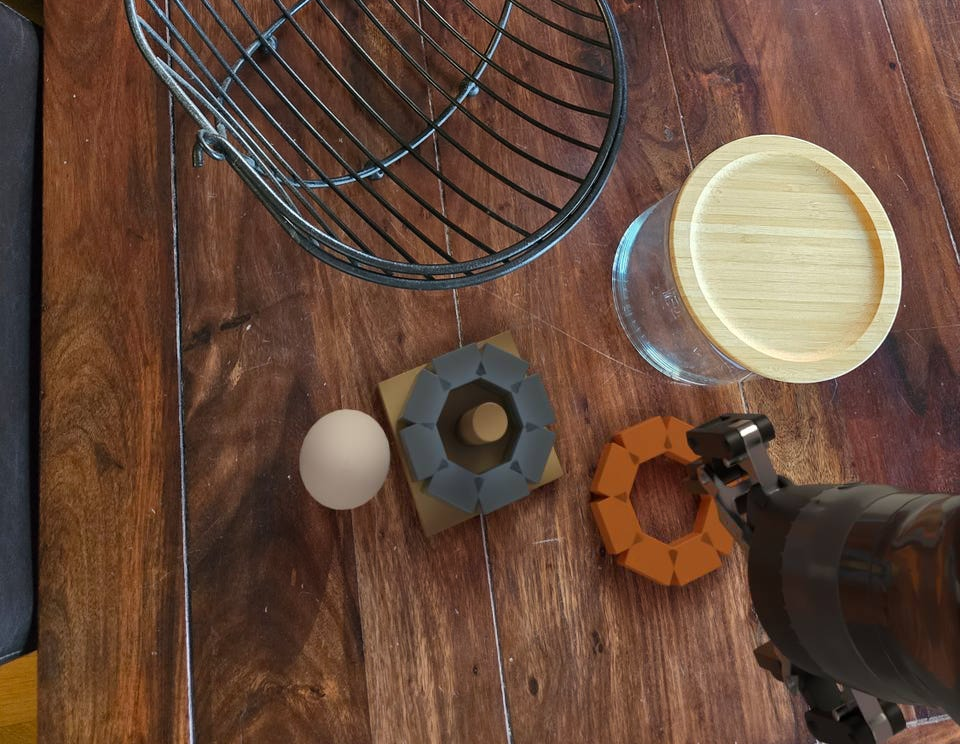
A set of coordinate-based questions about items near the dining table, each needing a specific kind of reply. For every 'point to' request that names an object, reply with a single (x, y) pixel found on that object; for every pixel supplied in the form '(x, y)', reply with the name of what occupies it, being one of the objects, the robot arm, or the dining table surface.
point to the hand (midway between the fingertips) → (734, 562)
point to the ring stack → (471, 431)
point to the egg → (344, 459)
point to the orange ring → (621, 523)
